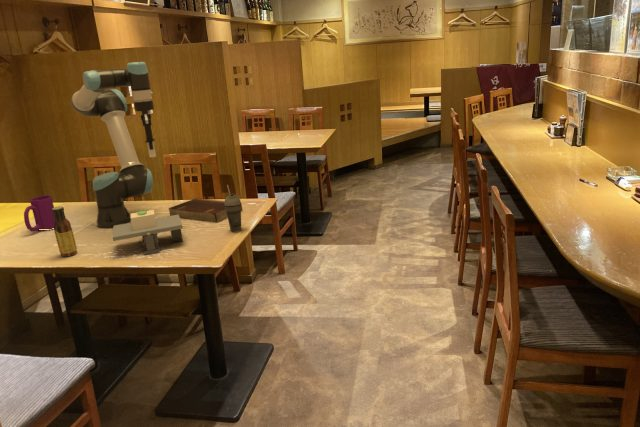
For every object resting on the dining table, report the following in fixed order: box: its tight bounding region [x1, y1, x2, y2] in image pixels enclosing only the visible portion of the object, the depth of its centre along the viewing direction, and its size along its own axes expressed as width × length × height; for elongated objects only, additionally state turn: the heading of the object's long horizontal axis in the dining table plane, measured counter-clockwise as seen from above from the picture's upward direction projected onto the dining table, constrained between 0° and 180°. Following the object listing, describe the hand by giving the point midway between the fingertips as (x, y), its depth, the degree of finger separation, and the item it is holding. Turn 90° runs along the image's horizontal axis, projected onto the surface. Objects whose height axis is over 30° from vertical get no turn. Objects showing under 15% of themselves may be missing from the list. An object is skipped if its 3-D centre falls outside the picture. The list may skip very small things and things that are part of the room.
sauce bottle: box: [52, 205, 78, 257], centre depth 201 cm, size 7×6×20 cm
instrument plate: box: [112, 209, 184, 242], centre depth 205 cm, size 26×16×8 cm, turn 110°
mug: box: [23, 195, 55, 232], centre depth 236 cm, size 9×16×15 cm, turn 163°
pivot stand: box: [141, 229, 184, 256], centre depth 209 cm, size 16×22×7 cm
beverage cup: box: [223, 184, 242, 233], centre depth 215 cm, size 7×7×20 cm
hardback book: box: [168, 198, 243, 224], centre depth 244 cm, size 29×19×5 cm, turn 61°
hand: (152, 156), depth 219 cm, fingers closed
